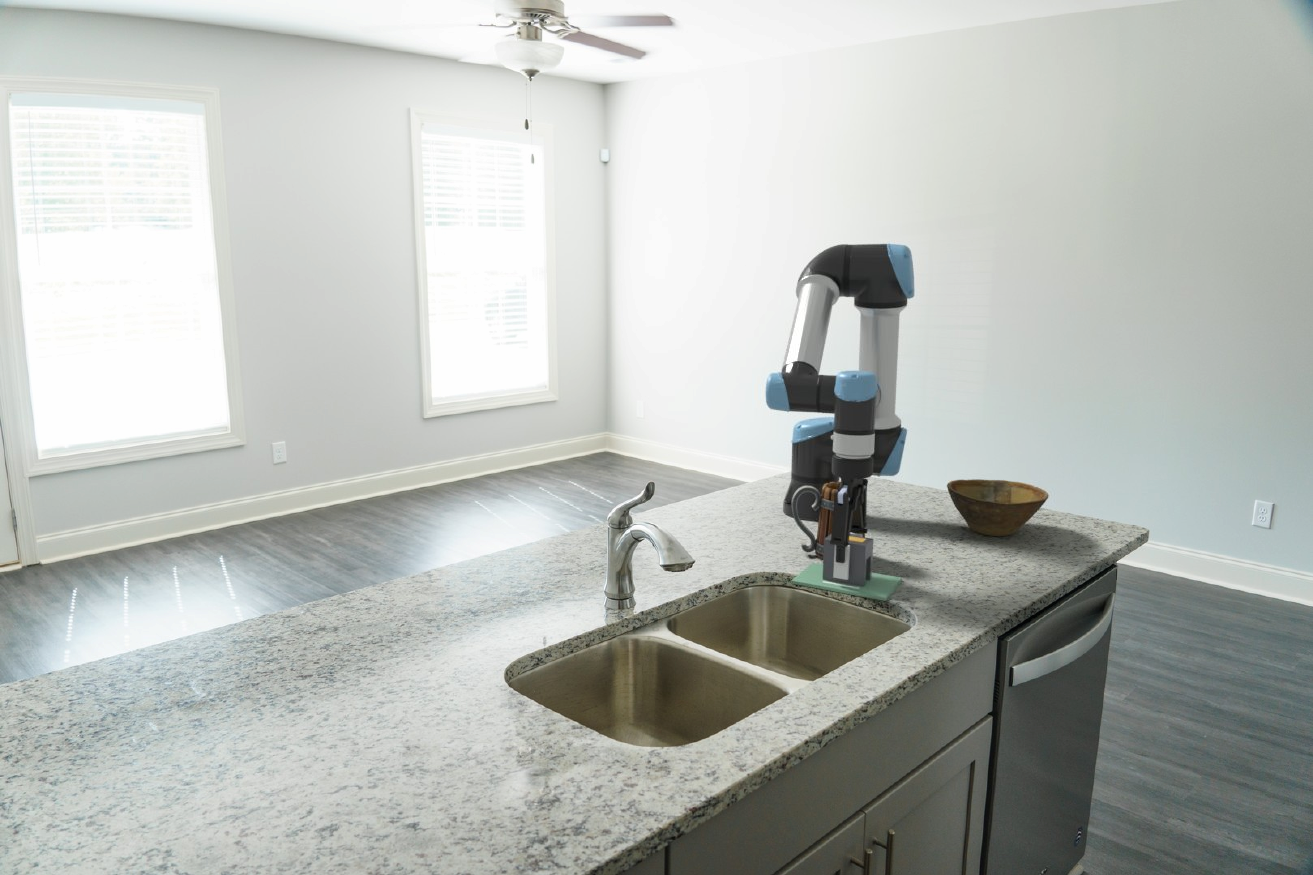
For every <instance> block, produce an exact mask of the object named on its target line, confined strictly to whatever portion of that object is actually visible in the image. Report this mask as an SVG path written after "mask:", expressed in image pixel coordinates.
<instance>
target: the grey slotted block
mask: <svg viewBox="0 0 1313 875" xmlns="http://www.w3.org/2000/svg"><path fill="white" fill-rule="evenodd" d="M839 539H840V538H839ZM830 541H831V534H830V535H829V536H828V537H826V538H825V539H824V556H823V559H822V564H823V580H829V581H834V582H840V583H845V584H851V585H856V586H862V587H864V586H865V583H866V580H869V581H870V580H871V576H872V573H873V572H872V571H873V557H874V556H873V555H874V554H873V553H874V551H873V550H874V538H872V537H871V538H870V537H866V536H865V537H859V536H852V535H850V536H849V542H848V543H849V544H848V545H850V559H849V579H848V580H845V579H839V578H834V577H833V572H834V550H835V545H832V544H830Z"/></svg>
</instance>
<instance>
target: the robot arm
mask: <svg viewBox="0 0 1313 875" xmlns="http://www.w3.org/2000/svg"><path fill="white" fill-rule="evenodd" d="M914 274H915V273H914V263H913V255H912V251H911V249H910V248H909V247H908V246H907V245H905V244H895V243H894V244H893V243H864V244H861V243H860V244H847V243H845V244H841V243H840V244H835V245H833V246H830V247H828V248H826V249H825V250H822V251H821V252H819V253H818V254H816V255H815V257H813V258H812V259H811V260H810V261H809V262H808V263H807V264H806V265H805V267H804V268H803V270H802V271H801V273H800V275H799V277H798V280H797V283H796V287H795V288H796V289H795V294H796V298H797V303H796V308H795V312H794V316H793V320H792V324H791V328H790V332H789V337H788V342H787V345H786V350H785V355H784V359H783V362H782V366H781V371H778V372H772V373H770V374H769V375H768V376H767V379H766V383H765V402H766V405H767V407H768V408H769V409H770V410H774V411H779V412H781V411H782V412H787V413H789V412H794V413H795V412H797V413H819V414H820V413H821V414H833V416H834V417H833V416H832V417H831V416H828V417H827V416H825V417H814V418H808V419H804V420H800V421H798V422H796V424H794V425H793V429H792V439H791V441H790V442H791V469H790V470H791V471H790V472H791V474H790V483H789V485H788V488H787V490H786V494H785V497H784V499H783V502H782V512H783V513H784V514H785V515H787V516H789V517H791V518H792V517H793V518H794V516H793V512H792V498H793V495H794V493H795V492H796V491H797V490H798V489H799V488H800V487H802V486H812V487H814V488H816V489H817V490H818V491H819V493H820V495H822V488H823V486H824V484H826V483H830V482H835V483H836V484H837V482H841V483H840V485H839V487H838V492H837V491H835V492H834V511H833V523H832V534H831V541H830V544H832V545H835V550H834V572H833V577H834V578H839V579H845V580H848V579H849V559H850V545H848V544H849V543H848V542H849V536H850V535H852V536H859V537H862V536H863V534H861V533H865V535H866V534H867V533H868V531H869V530H868V528H866V527H867V514H868V513H867V511H868V510H867V507H868V505H867V503H868V501H867V498H868V495H867V494H868V493H867V491H868V483H869V480H868V479H869V478H871V477H872V476H874V477H878V478H880V477H895V476H896V475H898V474H899V473H900V469H901V464H902V460H903V454H904V449H905V444H906V440H907V435H908V429H907V428H905V427H902V420H901V418H900V417H899V416H898V415H897V414H896V400H897V399H896V398H897V397H896V396H897V378H898V376H897V375H898V357H899V355H898V353H899V338H900V336H899V335H900V334H899V332H900V331H899V330H900V316H901V315H900V314H901V312H903V311H904V310H905V309H906V308H907V306H908V299H909V300H910V299H913V298H914V297H915V275H914ZM843 297H845V298H853V300H854V301H853V302H854V304H853V306H854V308H856V310H858V311H859V314H860V320H859V323H860V324H859V348H858V350H859V352H858V354H859V355H858V370H844V371H843V370H842V371H840V372H838V373H837V375H833V374H832V375H830V374H828V375H827V374H820V370H821V365H822V361H823V356H824V350H825V346H826V340H827V335H828V332H829V325H830V320H831V316H832V311H833V306H834V305H835V304H836V303H837V302H838V300H839V299H840V298H843ZM815 501H816V496H815V494H813V493H811V492H805V493H803V494H801V495H800V497H799V499H798V501H797V511H798V516H799V518H800V520H809V521H819V514H820V507H819V508H818V509H817V510H816V511H815V510H814V509H813V508H812V505H813V504H814V503H815ZM864 527H865V528H864ZM850 531H852V533H851V532H850ZM839 538H840V539H839Z"/></svg>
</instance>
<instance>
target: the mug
mask: <svg viewBox="0 0 1313 875" xmlns="http://www.w3.org/2000/svg"><path fill="white" fill-rule="evenodd" d="M840 483H841V481H839V482H837V484H836V483H835V482H830V483H826V484H824V486H823V488H822V495H820V493H819V491H818V490H817V489H816V488H814V487H812V486H802V487H800V488H799V489H798V490H797V491H796V492H795V493H794V495H793V498H792V512H793V516H794V517H793V519H794V522H795V523H796V525H797V526H798V528H799V529H800V530H801V531H802V532H803V533H804V535H806V536H807V537H808V538H809V540H810V544H809V545H807V542H800V546H801V548H802V551H803V552H805V553H812V552H813V551H814V554H815V555H816V556H817V557H818V558H820V559H821V560H823V556H824V539H825V538H826V537H828V536H829V535H830V534H832V523H833V511H834V492H835V491H837V492H838V487H839V485H840ZM805 492H811V493H813V494H815V496H816V501H815V503H814V504H813V505H812V508H813V509H814V510H815V511H816V510H817V509H818V508H819V507H820V514H819V520H818V524H817V530H816V531H817V532H816V534H817V535H816V537H815V535H814V533H813V532H812V531H811V530H810V529H809V528H808V527H807V526H806V525H805V524H804V523H803V521H802V519H800V518H799V516H798V511H797V501H798V499H799V497H800V495H801V494H803V493H805ZM864 528H866V527H864ZM850 532H851V533H852V531H850ZM861 534H863V536H862V537H865V538H866V534H865V533H861Z"/></svg>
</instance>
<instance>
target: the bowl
mask: <svg viewBox="0 0 1313 875" xmlns="http://www.w3.org/2000/svg"><path fill="white" fill-rule="evenodd" d="M946 488H947V491H948V494H949V496H950V498H951V501H952V502H953V505H954V507H955V509H956V510H957V511H958V513H959V514H960V515H961V517H962V518H963V519H964V521H965V522H966V524H967V525H968V528H969V529H970V530H971V531H973V532H974V533H978V534H982V535H986V536H992V537H993V536H994V537H1006V536H1010V535H1011V536H1012V535H1013V534H1014V533H1015V532H1016V531H1018V529H1021V528H1022V527H1023V526H1024V525H1025V524H1026V523H1027V522H1028V521H1029V520H1030V519H1032V518H1033V516H1034V515H1036V513H1037V512H1038V511H1039V510H1040V509H1041V508H1042V506H1043V505H1044V504H1045V503H1046V501H1047V500H1048V499H1049V493H1048V492H1047V491H1046V490H1044V489H1042V488H1040V487H1038V486H1035V485H1032V484H1029V483H1025V482H1019V481H1011V480H1004V479H1003V480H1002V479H974V478H973V479H955V480H950V481H949V482H948V483H947V485H946Z"/></svg>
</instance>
